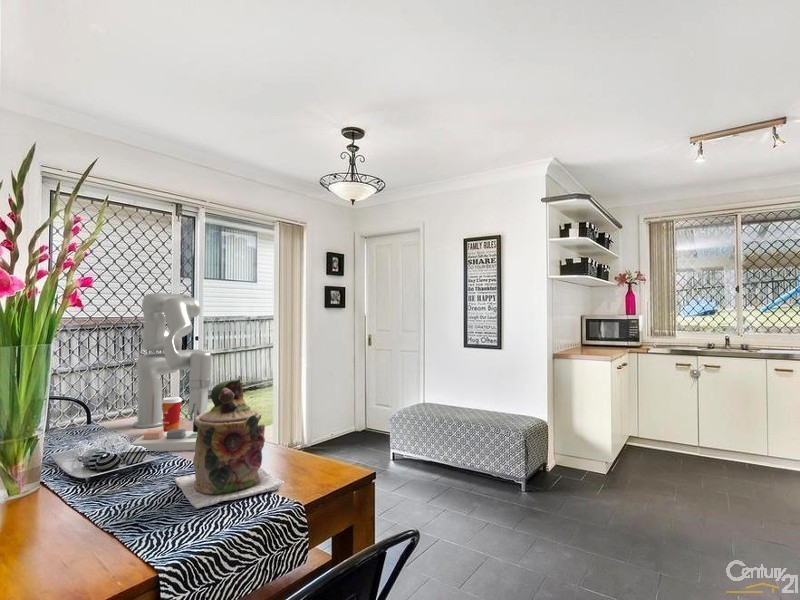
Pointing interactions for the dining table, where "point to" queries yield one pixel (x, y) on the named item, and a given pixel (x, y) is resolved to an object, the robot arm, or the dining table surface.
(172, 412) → the paper cup
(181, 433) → the charcoal key
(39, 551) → the dining table surface
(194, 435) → the sage key
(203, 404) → the robot arm
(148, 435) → the terracotta key
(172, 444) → the keypad
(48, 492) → the dining table surface
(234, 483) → the cookie jar
